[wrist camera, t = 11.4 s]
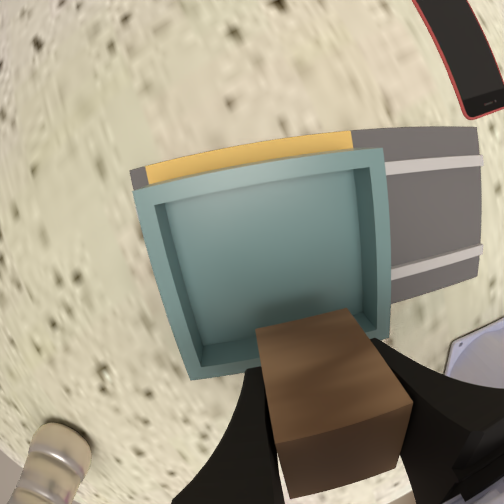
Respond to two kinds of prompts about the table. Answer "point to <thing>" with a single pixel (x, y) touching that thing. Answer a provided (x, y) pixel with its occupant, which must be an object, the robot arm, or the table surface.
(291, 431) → the walnut block
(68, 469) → the plastic bottle
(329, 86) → the table surface
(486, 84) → the smartphone
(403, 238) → the track
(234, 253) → the teal square tray
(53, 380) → the table surface
